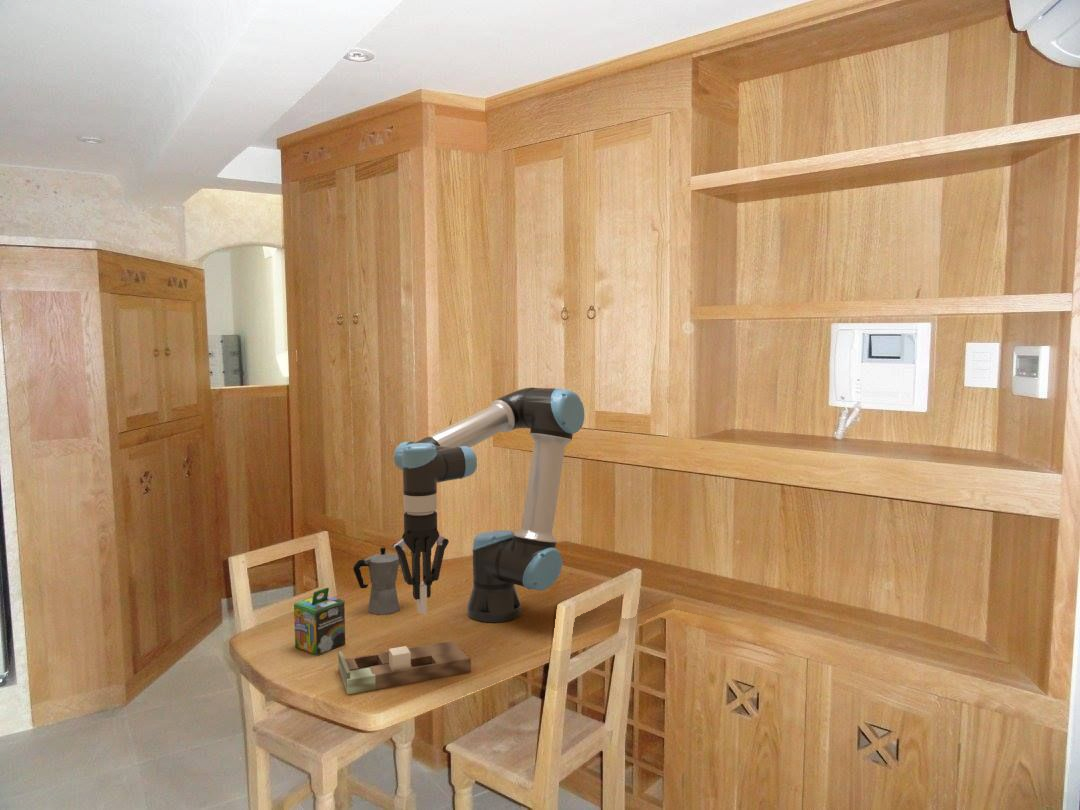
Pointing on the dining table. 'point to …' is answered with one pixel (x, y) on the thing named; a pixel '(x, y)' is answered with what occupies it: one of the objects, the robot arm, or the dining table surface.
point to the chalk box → (319, 623)
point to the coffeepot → (381, 582)
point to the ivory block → (399, 658)
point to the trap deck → (424, 666)
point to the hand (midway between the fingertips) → (422, 611)
